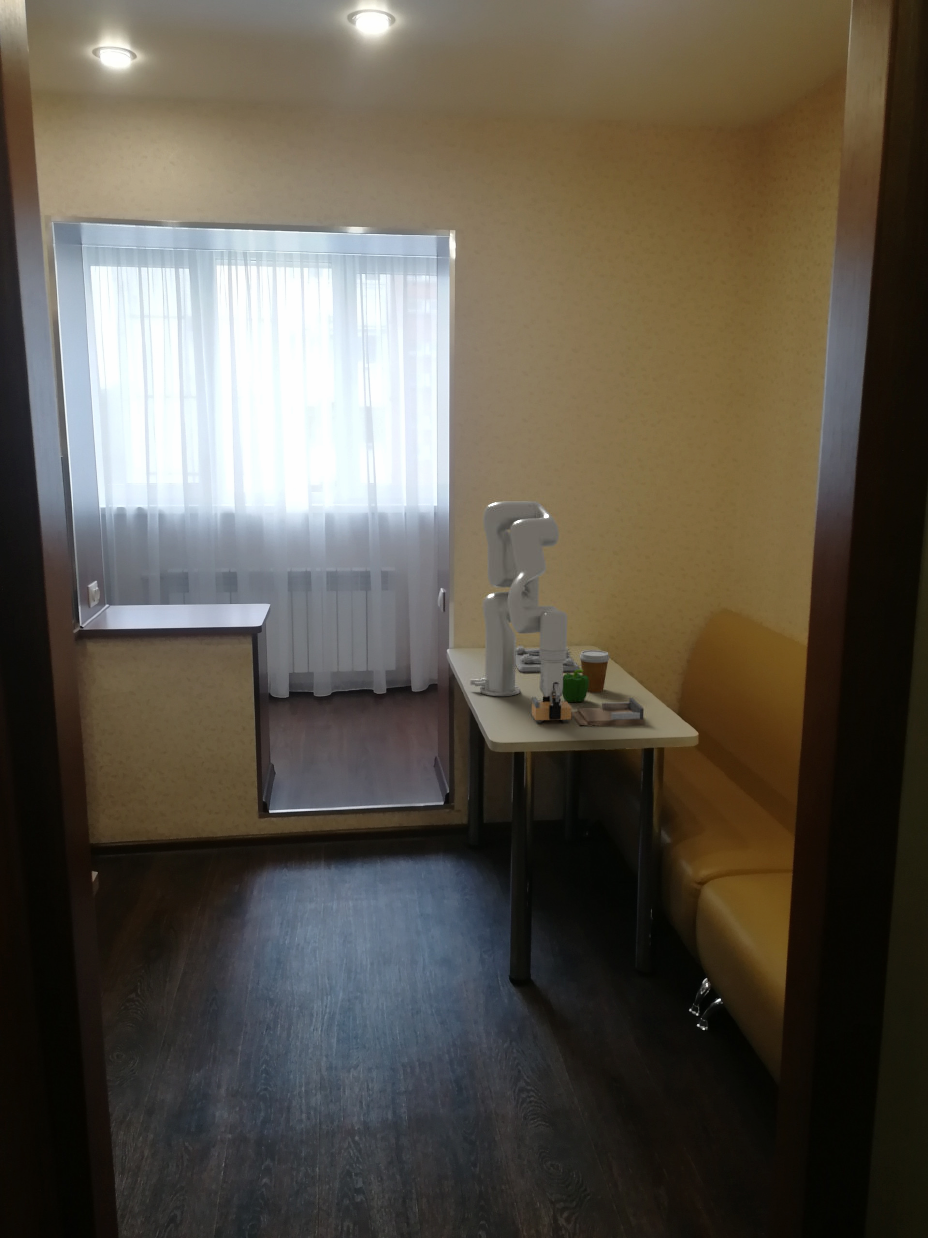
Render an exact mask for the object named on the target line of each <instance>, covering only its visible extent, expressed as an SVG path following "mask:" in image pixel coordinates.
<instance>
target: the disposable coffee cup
mask: <svg viewBox="0 0 928 1238" xmlns="http://www.w3.org/2000/svg"><path fill="white" fill-rule="evenodd" d="M579 660H580V665H581V667H580V668H581V670H583V672H582V673H581V675H585V676H588V678H589V686H588V691H587V693H599V692H603V691H604V687H605V683H606V675H607V671H608V670H607V669H608V663H609V661H610V656H609V652H608V651H605V650H600V649H599V650H598V649H590V650H589V649H588V650H586V649H585V650H582V651H581V652H580V655H579Z"/></svg>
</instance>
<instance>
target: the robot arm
mask: <svg viewBox="0 0 928 1238" xmlns="http://www.w3.org/2000/svg"><path fill="white" fill-rule="evenodd" d="M482 525H483V529H484V533H485V537H486V542H487V579H488V584H489V585H490V586H491V587H494V588H500V589H501V588H502V589H503V588H509V590H508V591H498V592H492V593H490V594H488V595H486V596H485V597H484V599H483V601H482V613H483V620H484V629H485V632H484V633H485V640H484V643H485V646H484V647H485V653H484V654H485V655H484V656H485V657H484V658H485V660H484V661H485V662H484V675H483V676H482V677H480V678H479V679H477V678H470V679H469V684H470V686H474V687H479V692H480V693H482V694H484V695H487V696H491V697H510V696H515V695H518V694H519V693H520V692H521V688H520V686H519V685H516V667H517V666H516V649H517V637H516V633H518V634H534V633H536V634H538V633H539V648H538V649H539V660H540V661H542V662H541V673H539V674H540V676H539V691H540V692H541V693H542V702H550V705H549V719H550V720H549V721H555V720H557V721H559V720H558V719H561V701H562V698H561V697H563V694H562V693H563V676H564V672H563V662H565V661H566V651H567V650H568V649H566V648H568V645H567V644H568V615H567V613H566V612H565V611H563V610H558V608H557V607H555V606H554V605H539V596H540V595H539V591H540V590H539V581H540V579H539V577H541V576H543V574H545V572H546V571H547V564H546V559H545V553H544V549H543V548H544V547H548V548H549V547H553V546H556V545H557V544H558V542H559V538H560V531H559V527H558V524H557V522H556V521H555V518H554V517H553V516H552V515H551V514H550V513H549V511H547V509H546V508H545V507H544V506H543V505H542V504H541V503H540V502H537V501H534V500H532V501H531V500H525V501H524V500H520V501H519V500H518V501H516V500H514V501H511V500H509V501H507V500H506V501H496V502H493V503H490V504H488V505H487V506H486V507H485V509H484V512H483V516H482ZM510 623H511V625H510ZM511 626H512V627H511ZM514 631H515V632H514ZM567 652H568V651H567Z"/></svg>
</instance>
